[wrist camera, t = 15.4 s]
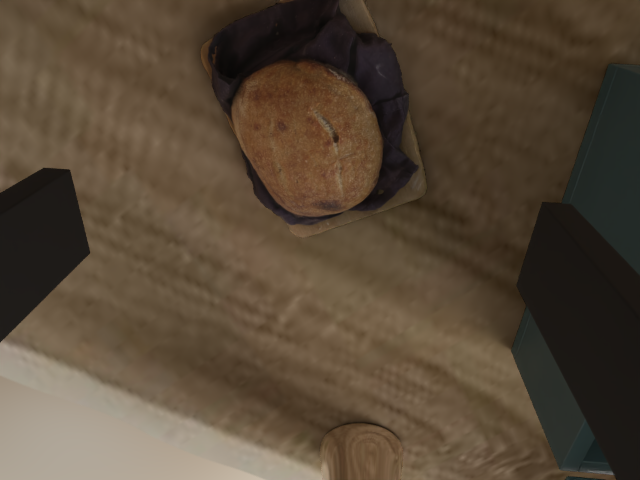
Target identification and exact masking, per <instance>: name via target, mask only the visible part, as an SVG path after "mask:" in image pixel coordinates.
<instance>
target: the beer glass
mask: <svg viewBox="0 0 640 480" xmlns="http://www.w3.org/2000/svg"><path fill="white" fill-rule="evenodd" d="M320 461H321V469H322V480H401V476H402V467H403V447H402V445H401V442H400V441H399V439H398V438H397V437H396V436H395V435H394V434H393V433H391V432H390V431H388V430H387V429H385V428H382V427H380V426H377V425H373V424H367V423H352V424H346V425H342V426H339V427H337V428H335V429H333V430H331V431H330V432H329V433H328V434H326V436H325V437H324V438H323V440H322V442H321V445H320Z"/></svg>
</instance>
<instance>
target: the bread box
mask: <svg viewBox="0 0 640 480" xmlns="http://www.w3.org/2000/svg"><path fill="white" fill-rule="evenodd" d="M562 203H564V204H572V205H573V206H574V207H575V208H576V209H577V210H578V211H579V213H580V214H581V215H582V216H583V217H584V218H585V219H586V220H587V221H588V222H589V223H590V224H591V225H592V226H593V227H594V228H595V229H596V230H597V231H598V232H599V233H600V234H601V235H602V236H603V238H604V239H605V240H606V241H607V242H608V243H609V244H610V245H611V246H612V247H613V248H614V249H615V250H616V251H617V252H618V253H619V254H620V255H621V256H622V257H623V258H624V259H625V260H626V261H627V263H628V264H629V265H630V266H631V267H632V268H633V269H634V270H635V271H636V272H637V273H638V274H639V275H640V65H629V64H609V65H608V68H607V71H606V74H605V77H604V80H603V83H602V86H601V89H600V92H599V95H598V98H597V100H596V103H595V106H594V109H593V112H592V115H591V118H590V121H589V124H588V127H587V130H586V133H585V136H584V139H583V142H582V145H581V147H580V150H579V153H578V156H577V159H576V162H575V165H574V168H573V171H572V174H571V177H570V180H569V183H568V186H567V189H566V191H565V194H564V197H563V200H562ZM511 352H512V354H513V357H514V359H515V362H516V364H517V367H518V369H519V372H520V374H521V377H522V379H523V381H524V384H525V386H526V389H527V391H528V394H529V396H530V399H531V401H532V403H533V406H534V408H535V411H536V413H537V416H538V418H539V420H540V423H541V425H542V428H543V430H544V433H545V435H546V438H547V440H548V442H549V445H550V447H551V450H552V452H553V455H554V457H555V459H556V462H557V464H558V467H559V469H560V470H563V471H574V472H577V471H578V472H586V473H597V474H608V475H614V474H613V472H612V470H611V468H610V466H609V464H608V462H607V460H606V458H605V456H604V454H603V452H602V450H601V449H600V447H599V445H598V443H597V441H596V439H595V437H594V435H593V433H592V431H591V429H590V427H589V425H588V423H587V421H586V420H585V418H584V416H583V414H582V412H581V410H580V408H579V406H578V404H577V402H576V400H575V398H574V396H573V394H572V393H571V391H570V389H569V387H568V385H567V383H566V381H565V379H564V377H563V375H562V373H561V371H560V369H559V367H558V365H557V364H556V362H555V360H554V358H553V356H552V354H551V352H550V350H549V348H548V346H547V344H546V342H545V340H544V338H543V336H542V335H541V333H540V331H539V329H538V327H537V325H536V323H535V321H534V319H533V317H532V315H531V313H530V311H529V309H528V307H527V306H526V309H525V312H524V315H523V318H522V321H521V323H520V326H519V329H518V332H517V335H516V338H515V341H514V344H513V347H512V350H511Z"/></svg>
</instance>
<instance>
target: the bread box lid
mask: <svg viewBox="0 0 640 480" xmlns="http://www.w3.org/2000/svg"><path fill="white" fill-rule="evenodd" d="M565 480H604V479H593V478H582V477H571V476H568V477H566V479H565Z"/></svg>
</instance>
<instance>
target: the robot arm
mask: <svg viewBox="0 0 640 480" xmlns="http://www.w3.org/2000/svg"><path fill="white" fill-rule="evenodd" d="M89 254H90V250H89V246H88V242H87V237H86V233H85V229H84V225H83V221H82V217H81V213H80V209H79V205H78V201H77V196H76V192H75V188H74V184H73V180H72V176H71V172H70V170H68V169H53V168H43V169H41V170H39V171H37V172H36V173H34V174H32V175H31V176H29V177H27V178H25V179H24V180H22V181H20V182H19V183H17V184H15V185H13V186H12V187H10V188H8V189H6V190H5V191H3V192H1V193H0V342H1V341H2V340H3V339H4V338H5V337H6V336H7V335H8V334H9V333H10V332H11V331H12V330H13V329H14V328H15V327H16V326H17V325H18V324H19V323H20V322H21V321H22V320H23V319H24V318H25V317H26V316H27V315H28V314H29V313H30V312H31V311H32V310H33V309H34V308H35V307H36V306H37V305H38V304H39V303H40V302H41V301H42V300H43V299H44V298H45V297H46V296H47V295H48V294H49V293H50V292H51V291H52V290H53V289H54V288H55V287H56V286H57V285H58V284H59V283H60V282H61V281H63V280H64V279H65V278H66V277H67V276H68V275H69V274H70V273H71V272H72V271H73V270H74V269H75V268H76V267H77V266H78V265H79V264H80V263H81V262H82V261H83V260H84V259H85V258H86V257H87V256H88V255H89ZM516 286H517V288H518V290H519V292H520V294H521V296H522V298H523V300H524V302H525V304H526V306H527V307H528V309H529V311H530V313H531V315H532V317H533V319H534V321H535V323H536V325H537V327H538V329H539V331H540V333H541V335H542V336H543V338H544V340H545V342H546V344H547V346H548V348H549V350H550V352H551V354H552V356H553V358H554V360H555V362H556V364H557V365H558V367H559V369H560V371H561V373H562V375H563V377H564V379H565V381H566V383H567V385H568V387H569V389H570V391H571V393H572V394H573V396H574V398H575V400H576V402H577V404H578V406H579V408H580V410H581V412H582V414H583V416H584V418H585V420H586V421H587V423H588V425H589V427H590V429H591V431H592V433H593V435H594V437H595V439H596V441H597V443H598V445H599V447H600V449H601V450H602V452H603V454H604V456H605V458H606V460H607V462H608V464H609V466H610V468H611V470H612V472H613V474H614V476H615V478H616V479H617V480H640V275H639V274H638V273H637V272H636V271H635V270H634V269H633V268H632V267H631V266H630V265H629V264H628V263H627V261H626V260H625V259H624V258H623V257H622V256H621V255H620V254H619V253H618V252H617V251H616V250H615V249H614V248H613V247H612V246H611V245H610V244H609V243H608V242H607V241H606V240H605V239H604V238H603V236H602V235H601V234H600V233H599V232H598V231H597V230H596V229H595V228H594V227H593V226H592V225H591V224H590V223H589V222H588V221H587V220H586V219H585V218H584V217H583V216H582V215H581V214H580V213H579V211H578V210H577V209H576V208H575V207H574V206H573V205H572V204H564V203H549V202H542V205H541V208H540V211H539V214H538V217H537V221H536V224H535V227H534V230H533V234H532V237H531V240H530V243H529V246H528V250H527V253H526V256H525V259H524V262H523V266H522V269H521V272H520V275H519V279H518V282H517V285H516Z"/></svg>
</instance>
